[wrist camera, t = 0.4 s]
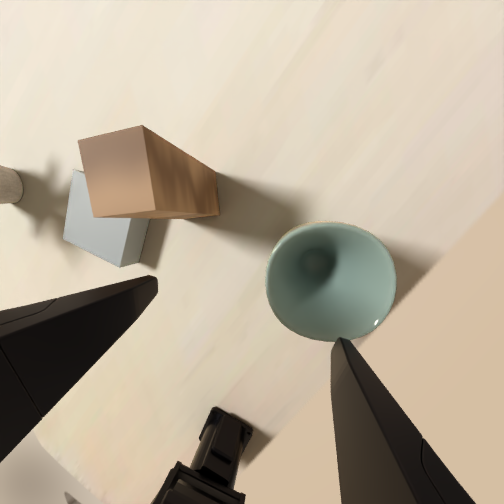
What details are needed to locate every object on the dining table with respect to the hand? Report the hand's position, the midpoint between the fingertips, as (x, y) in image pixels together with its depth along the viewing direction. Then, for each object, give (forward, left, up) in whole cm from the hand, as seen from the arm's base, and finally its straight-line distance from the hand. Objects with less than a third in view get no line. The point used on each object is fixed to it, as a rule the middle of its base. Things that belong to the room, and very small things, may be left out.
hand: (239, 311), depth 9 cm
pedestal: (-4, +21, -14) cm, 25 cm away
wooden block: (+3, +11, -14) cm, 18 cm away
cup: (+2, -4, -14) cm, 15 cm away
